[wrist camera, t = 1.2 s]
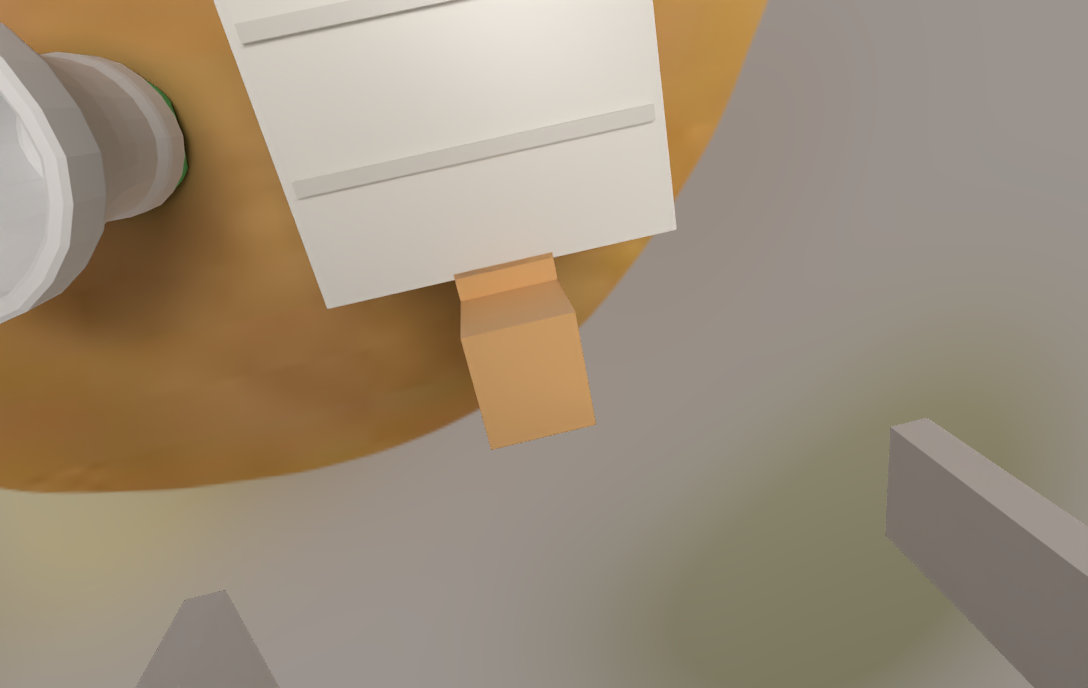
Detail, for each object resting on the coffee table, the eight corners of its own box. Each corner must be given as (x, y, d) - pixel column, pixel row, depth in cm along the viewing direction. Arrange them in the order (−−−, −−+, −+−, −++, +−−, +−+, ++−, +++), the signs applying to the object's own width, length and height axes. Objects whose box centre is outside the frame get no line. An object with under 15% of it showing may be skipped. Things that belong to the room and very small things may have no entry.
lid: (202, -104, 17) (85, -196, 12) (607, -183, 18) (672, -306, 13) (379, 396, 24) (355, 482, 19) (668, 328, 25) (727, 392, 19)
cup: (194, 277, 34) (28, 389, 21) (-30, 186, 31) (-394, 252, 18) (259, 88, 31) (111, 81, 18) (16, -35, 27) (-386, -156, 14)
